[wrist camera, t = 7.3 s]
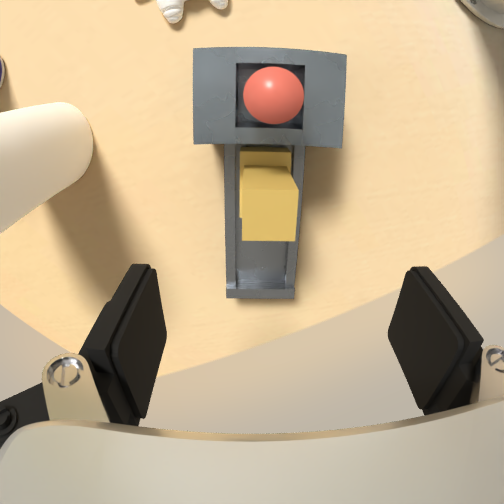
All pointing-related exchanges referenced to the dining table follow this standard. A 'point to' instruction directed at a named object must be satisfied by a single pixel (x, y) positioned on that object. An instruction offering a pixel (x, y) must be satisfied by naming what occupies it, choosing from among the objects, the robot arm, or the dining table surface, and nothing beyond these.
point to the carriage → (267, 194)
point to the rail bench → (264, 135)
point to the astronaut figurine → (173, 5)
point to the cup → (40, 156)
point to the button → (273, 95)
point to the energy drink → (1, 71)
